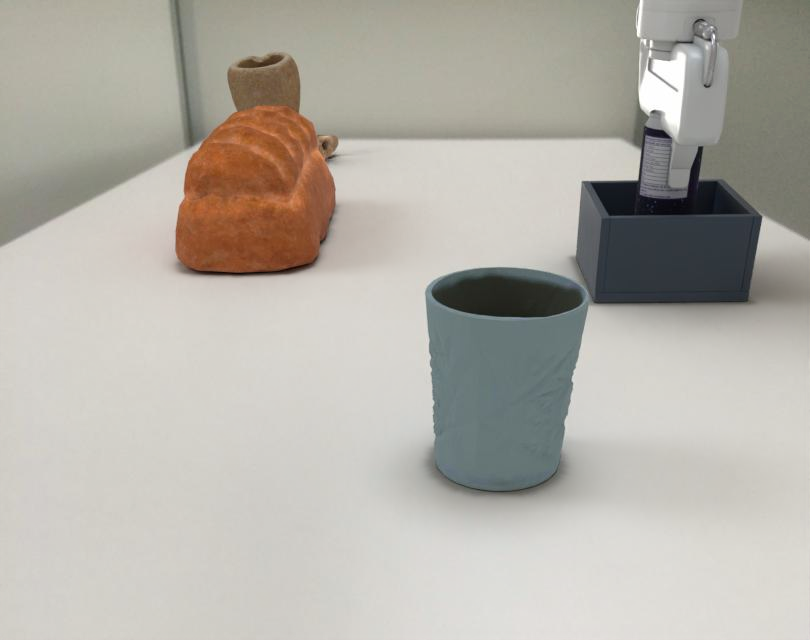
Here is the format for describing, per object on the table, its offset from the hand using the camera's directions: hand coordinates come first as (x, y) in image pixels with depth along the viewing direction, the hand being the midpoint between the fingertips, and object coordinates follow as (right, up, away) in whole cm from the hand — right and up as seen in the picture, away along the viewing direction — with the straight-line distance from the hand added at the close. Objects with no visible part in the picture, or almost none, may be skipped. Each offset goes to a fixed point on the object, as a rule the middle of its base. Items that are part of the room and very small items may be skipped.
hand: (668, 177), depth 93 cm
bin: (0, -8, +5) cm, 10 cm away
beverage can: (0, -5, +3) cm, 6 cm away
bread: (-42, +1, +22) cm, 48 cm away
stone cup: (-44, +23, +56) cm, 75 cm away
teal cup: (-19, -30, -27) cm, 44 cm away
